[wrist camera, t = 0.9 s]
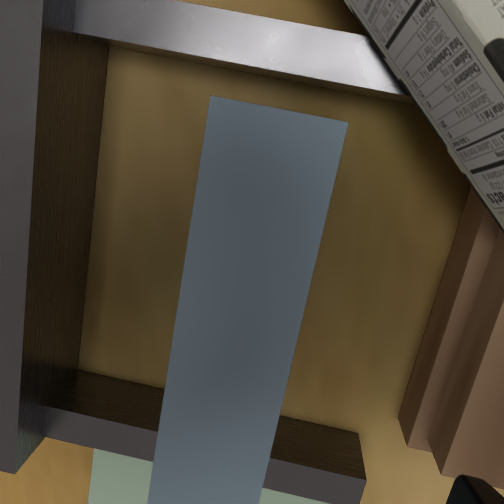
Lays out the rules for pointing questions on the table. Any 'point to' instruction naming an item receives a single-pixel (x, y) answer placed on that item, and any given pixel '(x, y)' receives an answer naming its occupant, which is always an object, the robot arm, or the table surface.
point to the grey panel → (242, 298)
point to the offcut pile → (463, 358)
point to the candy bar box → (450, 77)
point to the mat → (146, 482)
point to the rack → (81, 211)
